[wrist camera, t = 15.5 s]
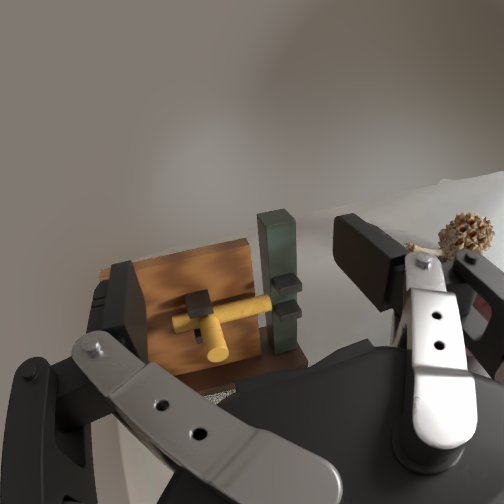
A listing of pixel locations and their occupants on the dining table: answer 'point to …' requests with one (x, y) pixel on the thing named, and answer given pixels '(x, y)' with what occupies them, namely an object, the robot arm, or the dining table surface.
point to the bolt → (211, 323)
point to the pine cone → (461, 237)
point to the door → (218, 293)
